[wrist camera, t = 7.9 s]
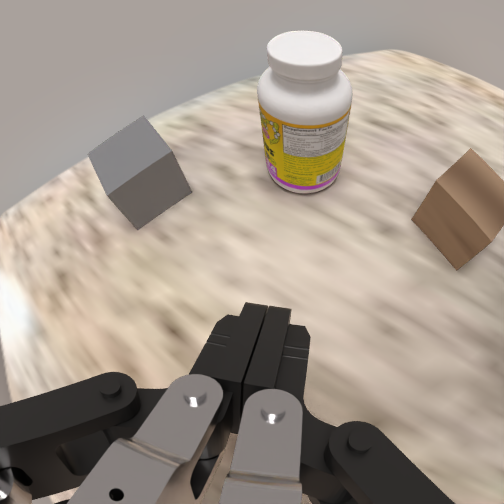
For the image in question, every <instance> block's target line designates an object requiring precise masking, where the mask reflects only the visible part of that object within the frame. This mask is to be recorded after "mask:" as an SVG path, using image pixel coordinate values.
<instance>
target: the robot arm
mask: <svg viewBox="0 0 504 504" xmlns="http://www.w3.org/2000/svg"><path fill="white" fill-rule="evenodd" d="M290 317H291V309H289V308H281V307H274V306H269V308H268V306H267V305H260V304H254V303H247V302H246V303H245V305H244V307H243V309H242V311H241V314H240V316H234V315H226V316H225V317H224V318H222V319H221V320H219V321H218V322H217V323H216V325H215V327H214V329H213V330H212V332H211V335H210V336H209V338H208V340H207V343H205V345H204V347H203V349H202V351H201V353H200V355H199V357H198V358H197V360H196V362H195V364H194V366H193V368H192V370H191V371H190V373H189V375H185V376H182V377H180V378H178V379H176V380H175V381H174V382H172V384H171V385H170V386H169V387H168V388H165V389H141V388H137V386H136V384H135V382H134V380H133V379H132V378H131V377H130V376H128V375H126V374H123V373H119V372H108V373H104V374H101V375H98V376H95V377H92V378H89V379H86V380H83V381H80V382H77V383H74V384H71V385H68V386H65V387H62V388H59V389H56V390H53V391H50V392H47V393H43V394H40V395H37V396H34V397H30V398H27V399H24V400H20V401H17V402H14V403H10V404H7V405H4V406H0V504H32V500H34V499H38V498H42V497H46V496H49V495H53V494H56V493H60V492H63V491H66V490H70V489H73V488H76V487H79V486H80V487H79V488H78V489H77V491H76V492H75V493H74V495H73V496H72V497H71V499H68V500H64V501H61V502H58V503H55V504H201V502H202V500H203V498H204V496H205V494H206V492H207V489H208V487H209V485H210V483H211V481H212V479H213V477H214V475H215V473H216V470H217V468H218V466H219V464H220V462H221V460H222V457H223V455H224V452H225V446H226V444H227V441H228V438H229V435H230V433H235V434H238V437H237V441H236V446H235V450H234V455H233V459H232V464H231V468H230V471H229V474H227V476H226V478H225V481H224V485H223V489H222V493H221V497H220V501H219V504H301V501H302V493H304V494H306V495H308V498H309V499H310V501H311V502H312V504H455V503H454V502H453V501H452V500H451V499H449V498H448V497H447V496H446V495H445V494H444V493H443V492H442V491H441V490H440V489H439V488H438V487H437V486H436V485H435V484H434V483H433V482H432V481H431V480H430V479H429V478H428V477H427V476H426V475H425V474H424V473H423V472H421V471H420V470H419V469H418V468H417V467H416V466H415V465H414V464H413V463H412V462H411V461H410V460H409V459H408V458H407V457H406V456H405V455H404V454H403V453H402V452H401V451H400V450H399V449H398V448H397V447H396V446H395V445H394V444H393V443H392V442H391V441H390V440H389V439H388V438H387V437H386V436H385V435H384V434H383V433H382V432H381V431H380V430H379V429H378V428H377V427H375V426H373V425H371V424H369V423H366V422H360V421H353V422H347V423H344V424H342V425H340V426H339V427H335V426H332V425H330V424H327V423H325V422H322V421H320V420H318V419H317V418H315V417H314V416H313V415H311V414H310V412H309V411H308V410H307V408H306V407H305V404H304V400H303V395H304V387H305V380H306V372H307V364H308V355H309V346H310V335H309V333H308V331H307V329H306V327H305V326H300V325H292V324H290Z"/></svg>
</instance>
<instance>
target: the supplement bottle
mask: <svg viewBox="0 0 504 504" xmlns="http://www.w3.org/2000/svg"><path fill="white" fill-rule="evenodd" d="M267 56H268V64H269V66H270V67H269V68H268V69H266V70H265V71H264V73H263V74H262V75H261V77H260V79H259V82H258V86H257V94H258V102H259V110H260V117H261V125H262V134H263V141H264V149H265V157H266V163H267V168H268V171H269V174H270V175H271V177H272V178H273V180H274V181H275V182H276V183H277V184H278V185H280V186H281V187H283V188H285V189H287V190H289V191H292V192H296V193H313V192H317V191H320V190H323V189H325V188H326V187H328V186H329V185H330V184H332V183H333V181H334V180H335V179H336V177H337V176H338V173H339V170H340V166H341V161H342V155H343V150H344V144H345V139H346V133H347V127H348V121H349V115H350V109H351V102H352V86H351V83H350V81H349V79H348V78H347V76H346V75H345V74H344V73H343V71H341V70H340V68H341V66H342V48H341V46H340V44H339V43H338V42H337V41H336V40H335V39H333V38H332V37H330V36H327V35H325V34H322V33H318V32H312V31H292V32H287V33H283V34H280V35H278V36H276V37H274V38H273V39H272V40H271V41H270V42H269V43H268V45H267Z"/></svg>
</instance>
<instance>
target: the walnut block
mask: <svg viewBox="0 0 504 504" xmlns="http://www.w3.org/2000/svg"><path fill="white" fill-rule="evenodd" d="M411 220H412V221H413V222H414V223H415V224H416V225H417V226H418V227H419V228H420V229H421V230H422V231H423V232H424V234H425V235H426V236H427V237H428V238H429V239H430V240H431V241H432V242H433V244H434V245H435V246H436V247H437V248H438V249H439V250H440V252H441V253H442V254H443V255H444V256H445V257H446V259H447V260H448V261H449V262H450V263H451V264H452V266H453V267H454V268H455V269H456V270H458V269H459V268H461V267H462V266H463V265H464V264H466V263H467V262H468V261H469V260H471V259H472V258H473V257H474V256H475V255H477V254H478V253H479V252H480V251H481V250H483V249H484V248H485V247H486V246H487V245H489V244H490V243H491V242H492V241H493V239H494V238H495V237H496V235H497V234H498V232H499V231H500V230H501V228H502V227H503V225H504V181H503V180H502V179H501V178H500V177H499V176H498V175H497V174H496V173H495V172H494V171H493V169H492V168H491V167H490V166H489V165H488V164H487V163H486V162H485V161H484V160H483V159H482V158H481V157H480V156H479V155H478V154H476V153H475V152H474V151H473V150H472V149H471V148H470V149H469V150H468V151H467V152H466V153H465V154H464V155H463V156H462V157H461V158H460V159H459V160H458V161H457V162H456V163H455V164H454V165H452V166H451V167H450V168H449V169H448V170H447V171H446V172H445V173H444V174H443V175H442V176H441V177H439V178H438V179H437V180H436V181H435V183H434V185H433V186H432V188H431V190H430V191H429V193H428V194H427V196H426V198H425V199H424V201H423V202H422V204H421V206H420V207H419V209H418V210H417V212H416V213H415V215H414V216H413V218H412V219H411Z"/></svg>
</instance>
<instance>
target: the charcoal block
mask: <svg viewBox="0 0 504 504" xmlns="http://www.w3.org/2000/svg"><path fill="white" fill-rule="evenodd" d="M88 156H89V158H90V160H91V163H92V165H93V167H94V169H95V171H96V174H97V176H98V178H99V180H100V182H101V184H102V186H103V188H104V191H105V193H106V195H107V196H108V197H109V199H110V200H111V201H112V202H113V203H114V204H115V205H116V207H117V208H118V209H119V210H120V211H121V212H122V213H123V214H124V215H125V217H126V218H127V219H128V220H129V221H130V222H131V223H132V224H133V225H134V226H135V228H136V229H137V230H139V229H140V228H141V227H143V226H144V225H146V224H147V223H148V222H150V221H151V220H153V219H154V218H155V217H157V216H158V215H160V214H161V213H163V212H164V211H165V210H167V209H168V208H170V207H171V206H173V205H174V204H176V203H177V202H178V201H180V200H181V199H183V198H184V197H186V196H187V195H189V194H190V193H192V191H191V189H190V187H189V185H188V183H187V181H186V178H185V176H184V174H183V172H182V170H181V168H180V166H179V164H178V162H177V160H176V158H175V156H174V154H173V152H172V150H171V149H170V148H169V146H168V145H167V144H166V143H165V141H164V140H163V139H162V138H161V136H160V135H159V134H158V133H157V131H156V130H155V129H154V128H153V126H152V125H151V124H150V123H149V121H148V120H147V119H146V118H145V116H142V117H141V118H139V119H137V120H136V121H134V122H133V123H131V124H130V125H128V126H126V127H125V128H124V129H122V130H120V131H119V132H118V133H116V134H115V135H113V136H112V137H110V138H109V139H107V140H106V141H105V142H103V143H102V144H100V145H99V146H98V147H96V148H95V149H93V150H92V151H91V152H89V153H88Z"/></svg>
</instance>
